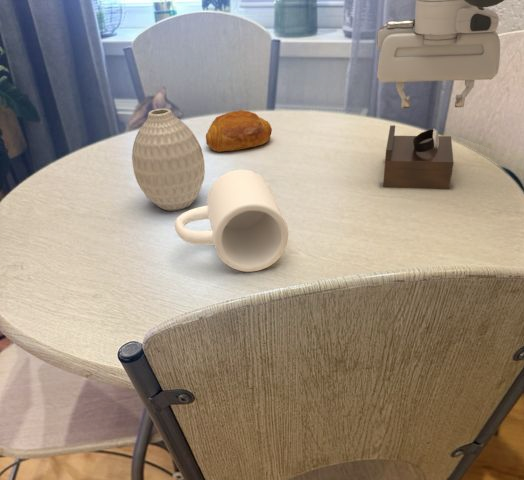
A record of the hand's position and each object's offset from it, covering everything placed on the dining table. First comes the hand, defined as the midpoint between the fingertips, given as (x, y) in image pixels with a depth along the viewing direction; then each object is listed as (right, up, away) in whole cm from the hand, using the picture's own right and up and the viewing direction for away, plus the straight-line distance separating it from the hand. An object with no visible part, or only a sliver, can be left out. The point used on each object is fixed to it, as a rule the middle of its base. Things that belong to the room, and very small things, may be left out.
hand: (431, 107), depth 97 cm
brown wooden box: (0, -9, +8) cm, 12 cm away
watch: (0, -6, +5) cm, 8 cm away
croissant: (-36, +5, +29) cm, 47 cm away
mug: (-36, -29, -11) cm, 47 cm away
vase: (-47, -17, +5) cm, 50 cm away
